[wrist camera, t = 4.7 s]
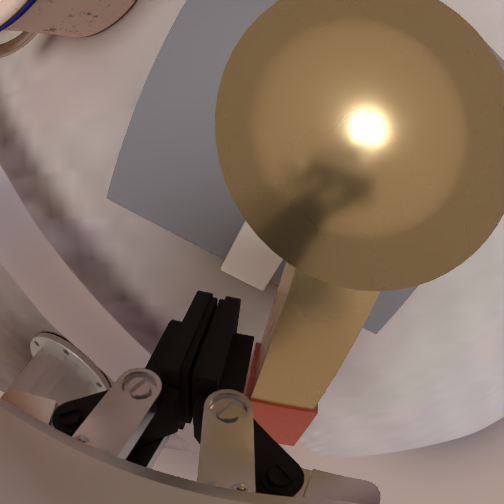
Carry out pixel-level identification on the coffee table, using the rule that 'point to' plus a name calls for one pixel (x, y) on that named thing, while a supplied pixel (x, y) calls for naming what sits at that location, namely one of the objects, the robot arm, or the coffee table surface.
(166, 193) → the plate
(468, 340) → the coffee table surface
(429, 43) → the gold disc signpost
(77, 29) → the teacup with lid
